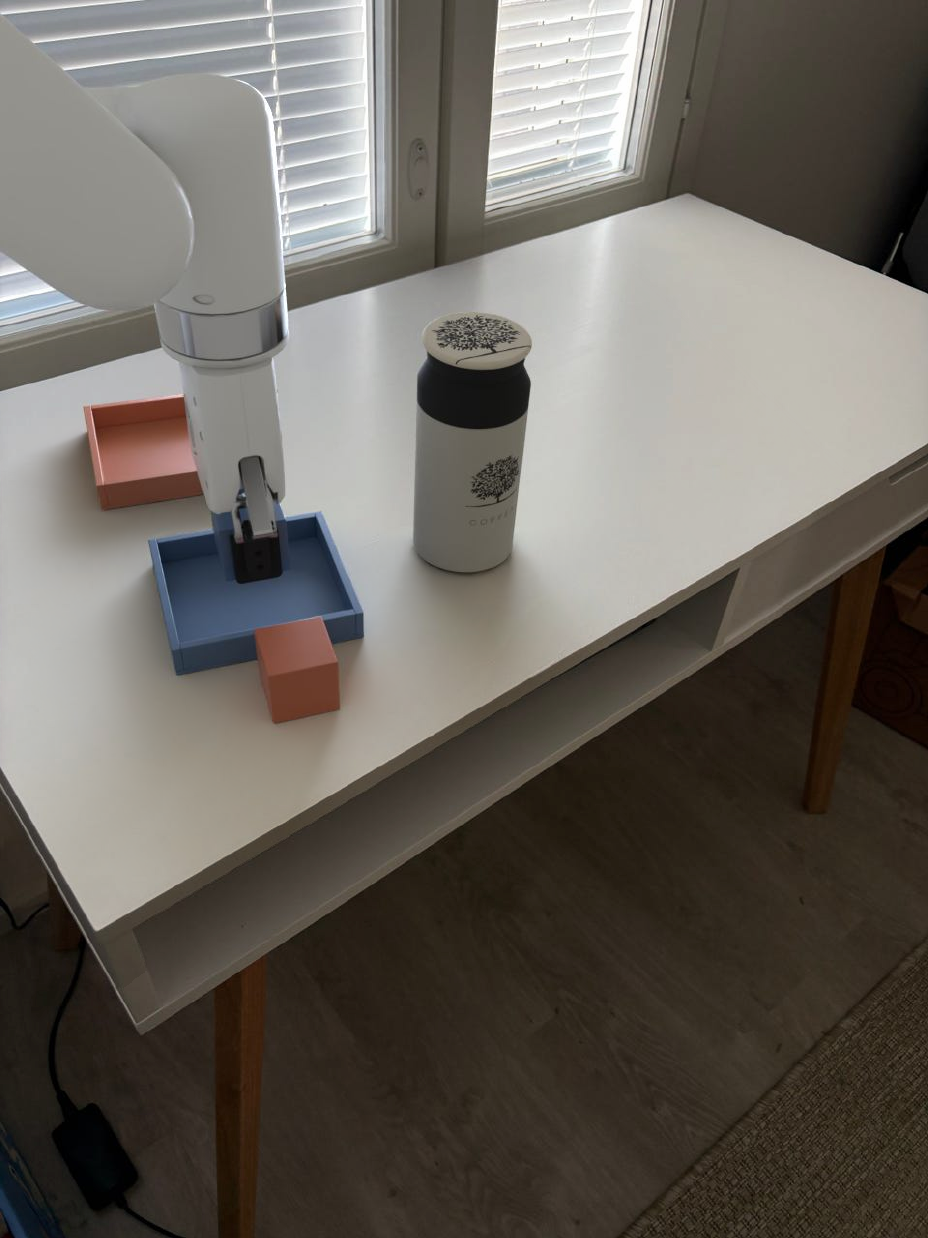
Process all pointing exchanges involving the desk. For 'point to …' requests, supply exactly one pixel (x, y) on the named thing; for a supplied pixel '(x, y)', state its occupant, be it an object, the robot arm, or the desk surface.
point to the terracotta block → (297, 669)
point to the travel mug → (469, 439)
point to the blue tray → (249, 595)
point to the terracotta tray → (141, 451)
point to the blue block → (224, 529)
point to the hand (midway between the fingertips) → (251, 552)
